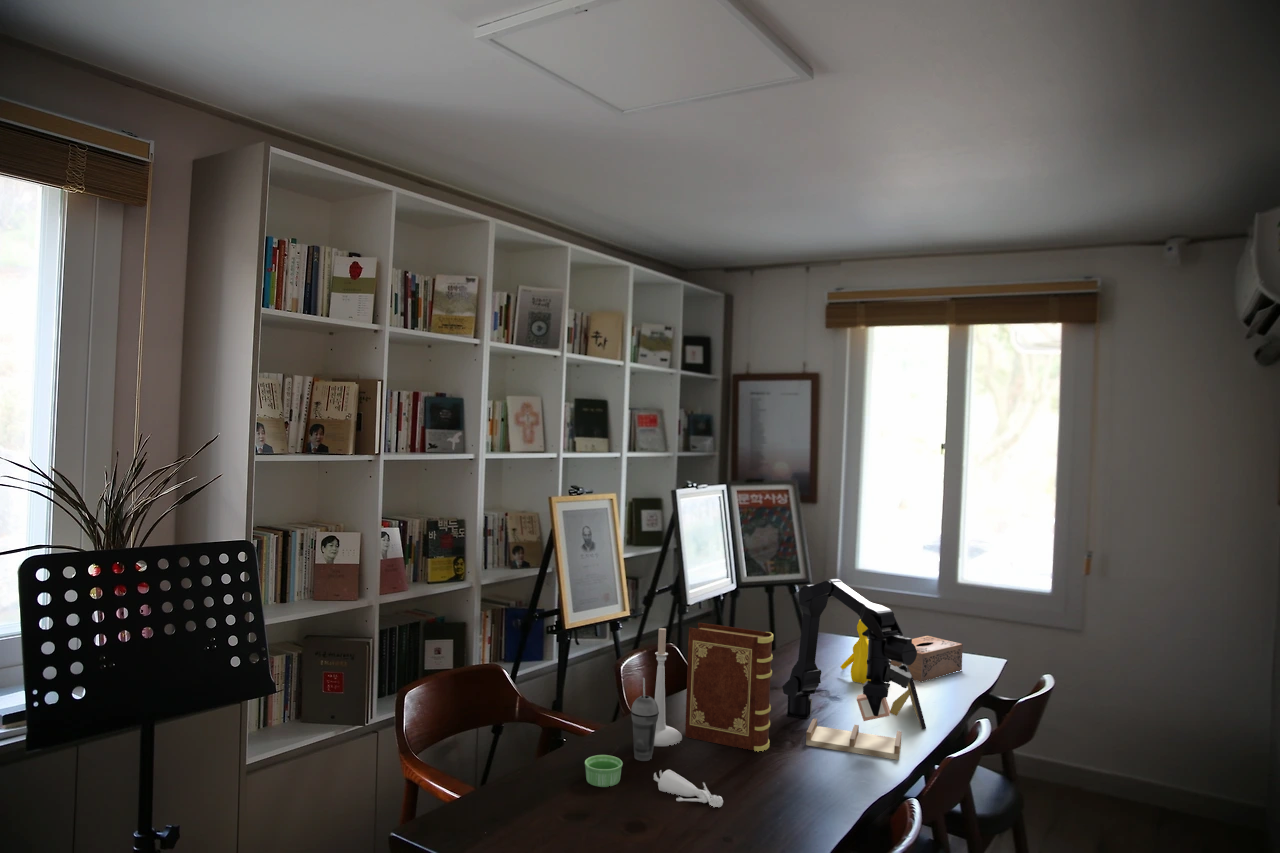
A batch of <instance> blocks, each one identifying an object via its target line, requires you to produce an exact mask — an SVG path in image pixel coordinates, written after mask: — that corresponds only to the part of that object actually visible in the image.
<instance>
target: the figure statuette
mask: <svg viewBox="0 0 1280 853" xmlns="http://www.w3.org/2000/svg"><path fill="white" fill-rule="evenodd" d="M867 629H868V628H867V627H866V626H865V625H864V624H863V623H862V622H861V619H860V618H859V620H858V623H857V625H856V631H857V633H858V637H859V638H858V640H857V641H856V642H855V643H854V645H853V647H852V653H851V655H849V657H848V658H847V659H846V660H845V661H844V662H843V663H842V664H841V665H840V667H839V668H841V670H842V671H844V670H845V669H846V668H847V667H849V666H850V665H851V667H850V677H851V680H852V682H855V683H857V684H863V685H864V683H865V682H866V681H868V680H869V679H866V675H867V658H868V637H867V636H863V635H862V633H863V632H864V631H866V630H867ZM869 681H871V680H869Z"/></svg>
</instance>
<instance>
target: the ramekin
mask: <svg viewBox="0 0 1280 853" xmlns="http://www.w3.org/2000/svg"><path fill="white" fill-rule="evenodd" d="M623 764H624V763H623V761H622V760H621V759H620V758H619V757H616V756H613V755H608V754H597V755H592V756H589V757H588V758H586V759H585V760H584V767H585V778H586V782H587V784H590V785H591V786H594V787H600V788H609V786H610V787H613V786H615V785H618V784H619V783H620V780H621V776H622V769H623V768H622V767H623Z"/></svg>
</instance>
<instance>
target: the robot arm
mask: <svg viewBox="0 0 1280 853" xmlns="http://www.w3.org/2000/svg"><path fill="white" fill-rule="evenodd" d="M831 597H833V598H834V599H836V600H837V601H839V602H840V603H842V604H843V605H845V607H847V608H848V609H850V610H851V611H852V612H854V613H855V614H857V615H858V617H859V620H860V619H861V622H862V623H863V624H864V625H865V626H866V627H867V628H868V629H867V630H866V631H864V632H863V633H862V635H863V636H867V639H868V658H867V675H866V679H869V680H871V681H869V680H868V681H866V682H865V683H864V684H863V685H862V694H864V695H866V697H867V699H868V702H869V704H870V707H871V710H872V712H873V715H874V716H878V714H879V710H880V705H881V701H882V699H883V698H884V697H886V698H888V696H889V688H890V687H891V683H890V682H892V683H894V684H896V685H898V686H900V687H901V688H903V689H908V687H907V686H908V684H909V681H910V679H911V674H910V672H908V670H907V666H906V665H911V664H912V663H913V662H914V661H915V659H916V656H917V650H916V647H915V646H914V644H912V639H913V638H911V637H905V636H903V634H904V633H903V632H902V630H901V627H900V625H899V624H898V623H899V622H897V619H896V617H895V613H894V611H893V610H891V608H889V607H886V606H884V605H882V604H878V603H874V602H871V601H869V600H868V599H866V598H865V597H864V596H862V595H860V594H859V593H858V592H856V591H855V590H853V588H851V587H849V586H848V585H846V584H845V583H844V582H843V581H842V580H841V579H839V578H831V579H826V580H824V581H821V582H819V583H818V582H817V583H814V584H806V585H803V586H801V587H800V588H799V590H798V605H799V606H800V609H801V611H802V620H801V631H800V639H799V640H800V641H799V648H798V649H799V650H798V658H797V661H796V663H795V664H794V665H793V666H792V669H791V673H790V676H789V679H788V680H787V681H786V682H785V683H784V684H783V685H782V692H783V694H784V695H785V696H787V706H786V709H787V711H786V713H785V716H787V717H792V718H800V719H806V720H807V719H809V717H810V716H811V715H812V713H813V699H812V698H811V695H814V694H816V691H817V688H818V687H819V686H820V684H821V683H822V682H821V678H822V670H821V669H820V668H818V667H817V663H816V657H817V655H816V654H817V648H818V638H819V629H820V622H821V621H820V619H821V615H822V614H823V612H824V610H825V609H826V608H827V605H828V601H829V598H831ZM891 660H893V661H896V662H899V663H902V664H901V665H900V666H899V667H897V666H893V665H891ZM904 664H905V665H904Z"/></svg>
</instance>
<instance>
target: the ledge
mask: <svg viewBox="0 0 1280 853" xmlns="http://www.w3.org/2000/svg"><path fill="white" fill-rule="evenodd" d="M859 727H860V725H859V724H854V725H853V727H852V730H846V729H845V730H844V729H839V728H832V727H827V726H826V727H825V726H818V718H812V720H811V722H810V724H809V726H808V728H807V730H806V738H805V745H806V746H810V747H816V748H821V749H826V750H827V749H828V750H834V751H841V752H845V753H846V752H847V753H853V754H859V755H866V756H872V757H878V758H884V759H891V760H897V761H900V757H901V756H900V755H901V748H902V735H903V734H902V733H903V732H902V731H899V730H897V731H896V736H895V737H892V736H885V735H879V734H872V733H864V732H860V731H859V729H860V728H859Z"/></svg>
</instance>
